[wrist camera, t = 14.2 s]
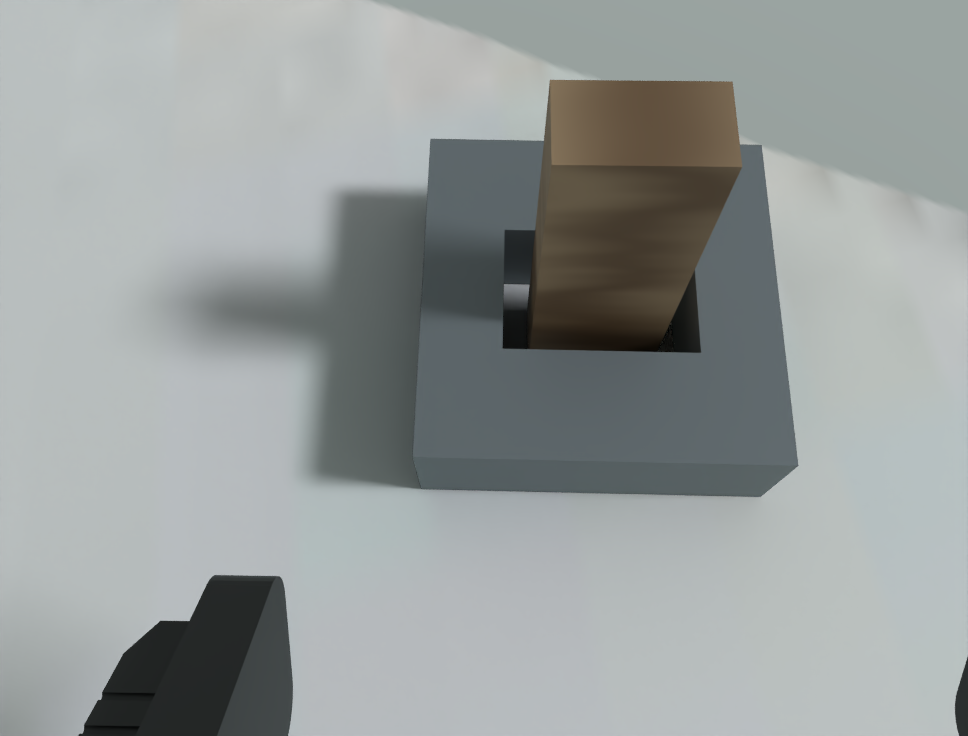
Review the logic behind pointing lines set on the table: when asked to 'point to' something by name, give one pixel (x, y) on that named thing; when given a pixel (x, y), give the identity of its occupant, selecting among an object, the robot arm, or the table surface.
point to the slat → (626, 207)
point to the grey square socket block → (593, 354)
